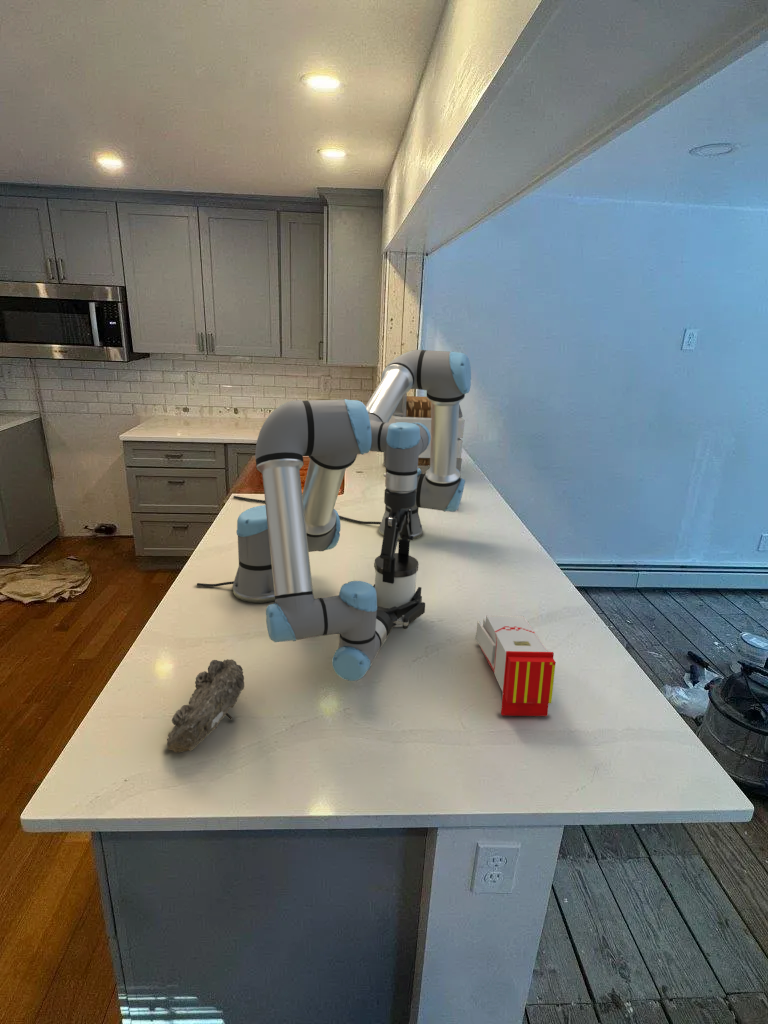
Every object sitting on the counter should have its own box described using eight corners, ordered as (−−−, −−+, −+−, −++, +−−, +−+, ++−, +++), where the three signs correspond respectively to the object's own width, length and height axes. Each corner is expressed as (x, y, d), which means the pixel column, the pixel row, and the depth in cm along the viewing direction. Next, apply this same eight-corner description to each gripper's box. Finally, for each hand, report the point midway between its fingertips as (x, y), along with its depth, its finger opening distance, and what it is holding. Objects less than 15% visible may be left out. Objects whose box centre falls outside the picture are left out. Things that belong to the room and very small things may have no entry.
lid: (396, 554, 149) (396, 549, 148) (427, 569, 141) (427, 563, 141) (365, 565, 142) (365, 560, 141) (395, 581, 134) (396, 575, 134)
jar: (397, 603, 153) (400, 551, 148) (421, 619, 145) (425, 566, 140) (365, 613, 147) (367, 560, 142) (389, 631, 139) (392, 576, 134)
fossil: (192, 660, 117) (244, 628, 112) (224, 691, 120) (276, 661, 115) (142, 746, 98) (202, 712, 93) (182, 779, 101) (242, 748, 96)
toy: (522, 601, 137) (564, 658, 107) (517, 652, 139) (557, 722, 110) (472, 600, 136) (500, 657, 107) (468, 651, 139) (495, 721, 110)
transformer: (382, 463, 289) (386, 382, 275) (445, 464, 293) (451, 384, 279) (390, 482, 257) (394, 392, 243) (460, 483, 261) (468, 394, 247)
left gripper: (324, 634, 132) (357, 592, 152) (419, 655, 126) (441, 608, 146) (325, 606, 130) (358, 567, 150) (422, 625, 124) (443, 582, 144)
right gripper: (400, 474, 146) (396, 552, 154) (368, 500, 125) (364, 589, 133) (428, 478, 144) (423, 557, 151) (400, 505, 123) (395, 595, 130)
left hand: (399, 588), depth 148 cm, fingers closed on jar, 10 cm apart
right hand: (395, 572), depth 142 cm, fingers closed on lid, 11 cm apart
